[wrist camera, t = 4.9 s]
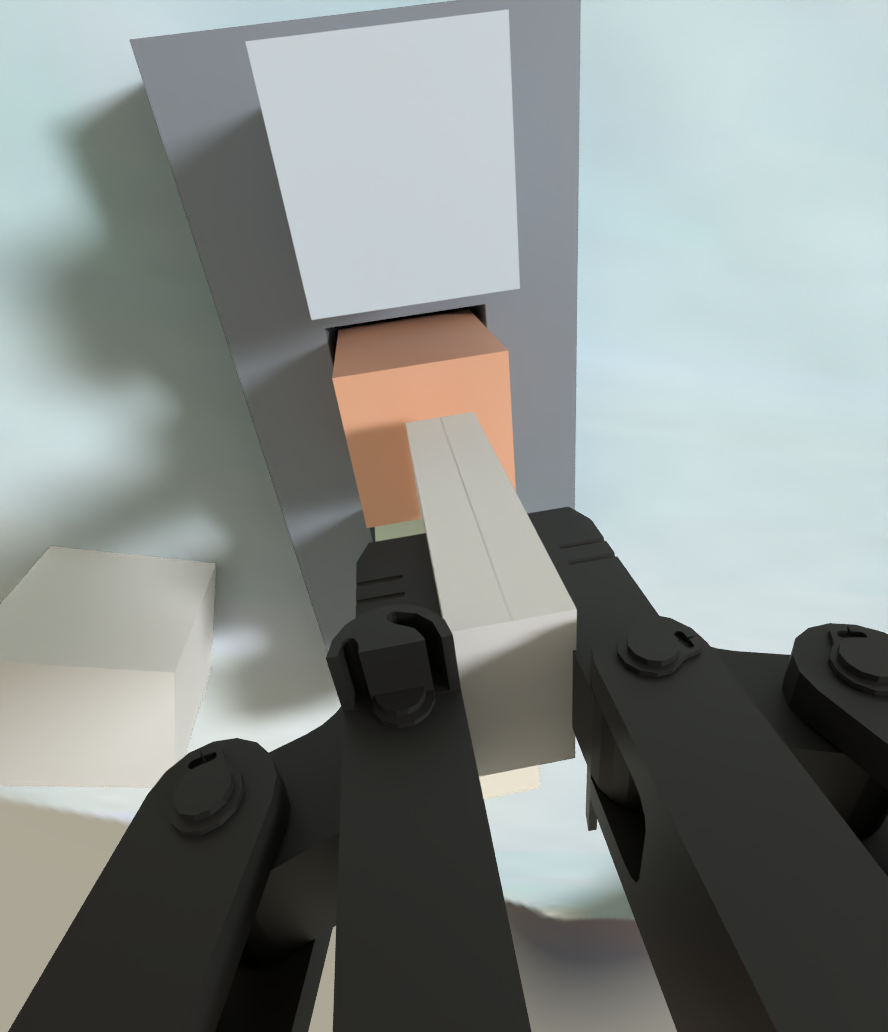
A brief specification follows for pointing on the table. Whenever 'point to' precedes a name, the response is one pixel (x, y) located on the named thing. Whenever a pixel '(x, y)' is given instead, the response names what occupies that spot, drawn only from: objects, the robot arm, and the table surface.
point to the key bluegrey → (395, 159)
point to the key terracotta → (416, 399)
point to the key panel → (312, 344)
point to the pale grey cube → (102, 667)
